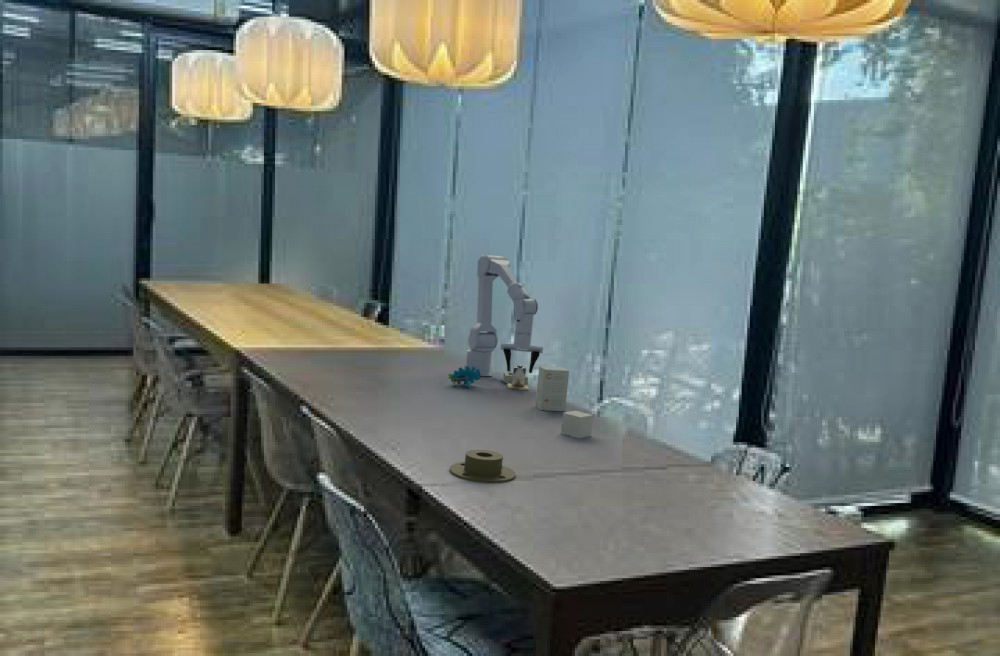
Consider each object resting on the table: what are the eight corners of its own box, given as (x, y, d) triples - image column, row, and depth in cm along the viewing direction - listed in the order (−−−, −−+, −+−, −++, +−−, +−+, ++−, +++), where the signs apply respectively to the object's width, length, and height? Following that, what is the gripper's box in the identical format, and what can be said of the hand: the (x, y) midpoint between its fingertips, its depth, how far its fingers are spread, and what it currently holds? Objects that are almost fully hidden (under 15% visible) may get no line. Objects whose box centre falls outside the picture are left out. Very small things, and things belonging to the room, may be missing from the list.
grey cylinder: (512, 386, 313) (514, 366, 312) (511, 384, 317) (513, 364, 317) (524, 387, 313) (526, 367, 313) (523, 385, 318) (525, 365, 317)
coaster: (508, 388, 311) (508, 387, 311) (506, 384, 318) (506, 383, 318) (528, 390, 312) (528, 388, 312) (526, 386, 319) (526, 384, 319)
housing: (504, 383, 320) (505, 375, 320) (502, 379, 328) (503, 371, 328) (527, 385, 321) (528, 377, 320) (524, 381, 329) (525, 373, 328)
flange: (481, 442, 216) (437, 451, 204) (530, 458, 207) (487, 467, 195) (479, 461, 217) (435, 471, 205) (528, 478, 207) (485, 489, 196)
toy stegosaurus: (479, 380, 313) (481, 363, 305) (481, 394, 310) (483, 378, 302) (447, 382, 311) (448, 365, 303) (449, 396, 308) (450, 380, 300)
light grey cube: (578, 438, 249) (580, 417, 248) (560, 433, 253) (563, 412, 252) (590, 436, 254) (593, 415, 253) (573, 431, 257) (575, 410, 257)
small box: (558, 407, 289) (563, 366, 287) (565, 411, 283) (569, 370, 281) (534, 406, 287) (538, 365, 285) (540, 410, 280) (544, 369, 279)
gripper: (503, 332, 308) (499, 372, 310) (545, 336, 309) (541, 375, 311) (501, 330, 315) (497, 368, 317) (542, 333, 316) (538, 371, 318)
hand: (519, 371), depth 314 cm, fingers open, 7 cm apart
